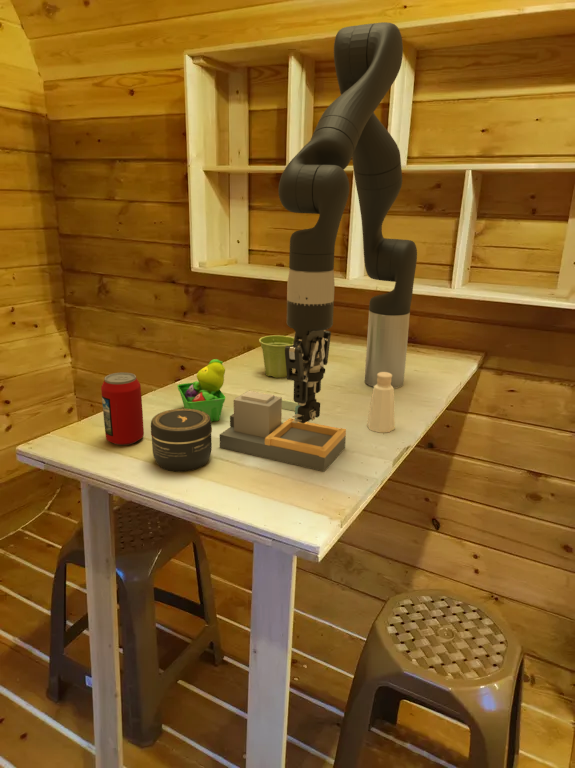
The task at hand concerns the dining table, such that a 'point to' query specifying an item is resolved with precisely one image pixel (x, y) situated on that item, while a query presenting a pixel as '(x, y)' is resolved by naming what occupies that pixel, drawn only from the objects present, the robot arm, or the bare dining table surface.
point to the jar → (181, 439)
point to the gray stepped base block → (280, 434)
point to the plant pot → (275, 354)
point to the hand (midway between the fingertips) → (307, 396)
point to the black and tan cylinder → (310, 396)
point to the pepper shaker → (382, 405)
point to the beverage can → (122, 408)
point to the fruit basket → (205, 390)
